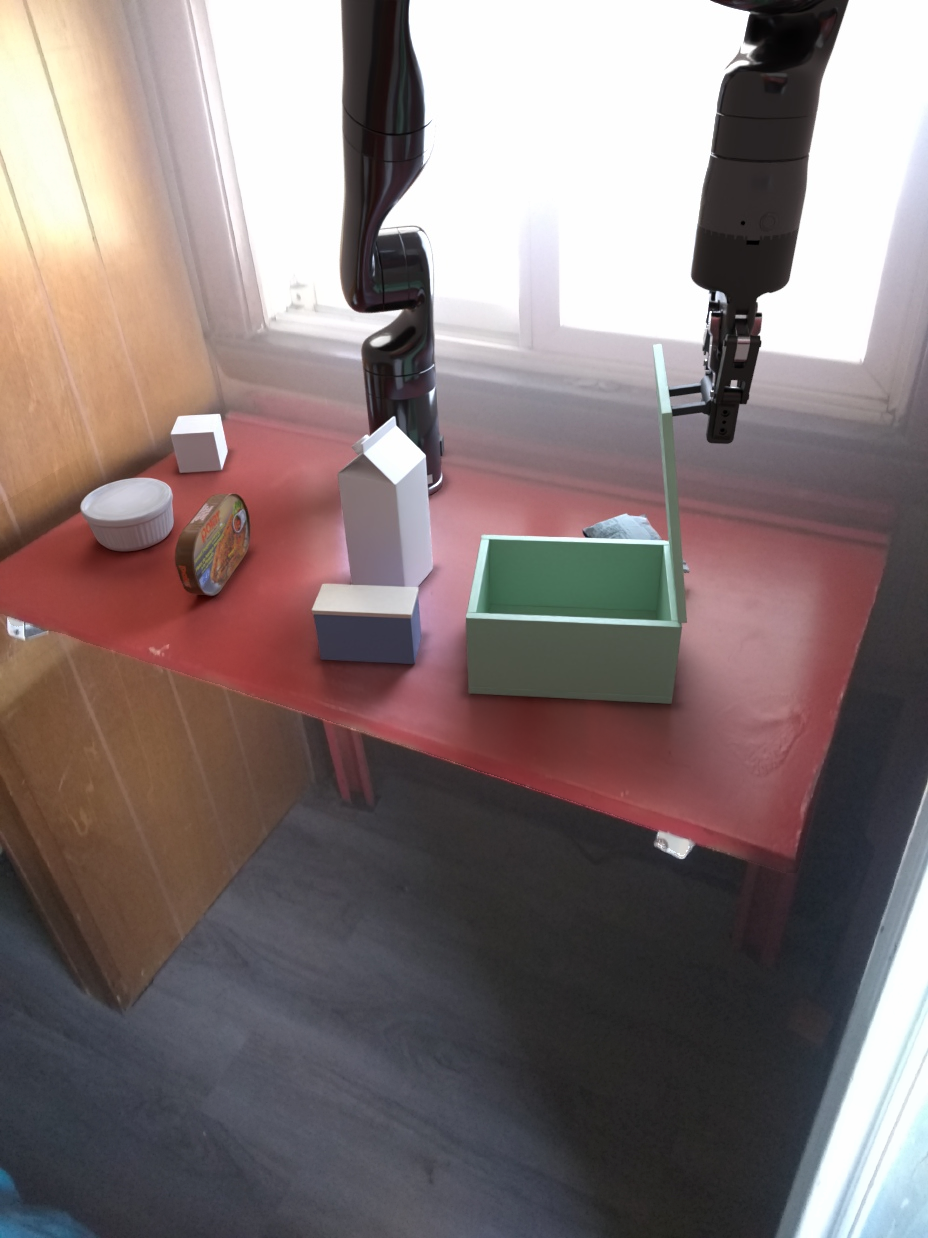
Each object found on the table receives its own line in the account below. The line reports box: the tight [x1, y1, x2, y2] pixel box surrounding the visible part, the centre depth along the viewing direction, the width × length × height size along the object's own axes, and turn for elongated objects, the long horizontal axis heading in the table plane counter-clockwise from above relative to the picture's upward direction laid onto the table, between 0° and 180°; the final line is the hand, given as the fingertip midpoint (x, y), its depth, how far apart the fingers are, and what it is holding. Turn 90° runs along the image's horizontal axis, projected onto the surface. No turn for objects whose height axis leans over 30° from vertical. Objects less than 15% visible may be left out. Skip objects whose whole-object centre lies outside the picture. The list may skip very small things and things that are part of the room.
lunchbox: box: [465, 534, 683, 705], centre depth 93 cm, size 20×15×9 cm
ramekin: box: [79, 477, 175, 552], centre depth 117 cm, size 11×11×5 cm
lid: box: [652, 343, 713, 624], centre depth 83 cm, size 21×15×5 cm
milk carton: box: [337, 416, 434, 588], centre depth 102 cm, size 7×7×19 cm
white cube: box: [170, 413, 229, 474], centre depth 132 cm, size 6×6×6 cm
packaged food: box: [581, 512, 690, 574], centre depth 107 cm, size 9×12×5 cm
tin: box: [174, 492, 252, 597], centre depth 108 cm, size 15×3×8 cm, turn 168°
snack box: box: [311, 583, 422, 665], centre depth 96 cm, size 5×10×6 cm, turn 83°
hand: (715, 426), depth 79 cm, fingers closed on lid, 5 cm apart
